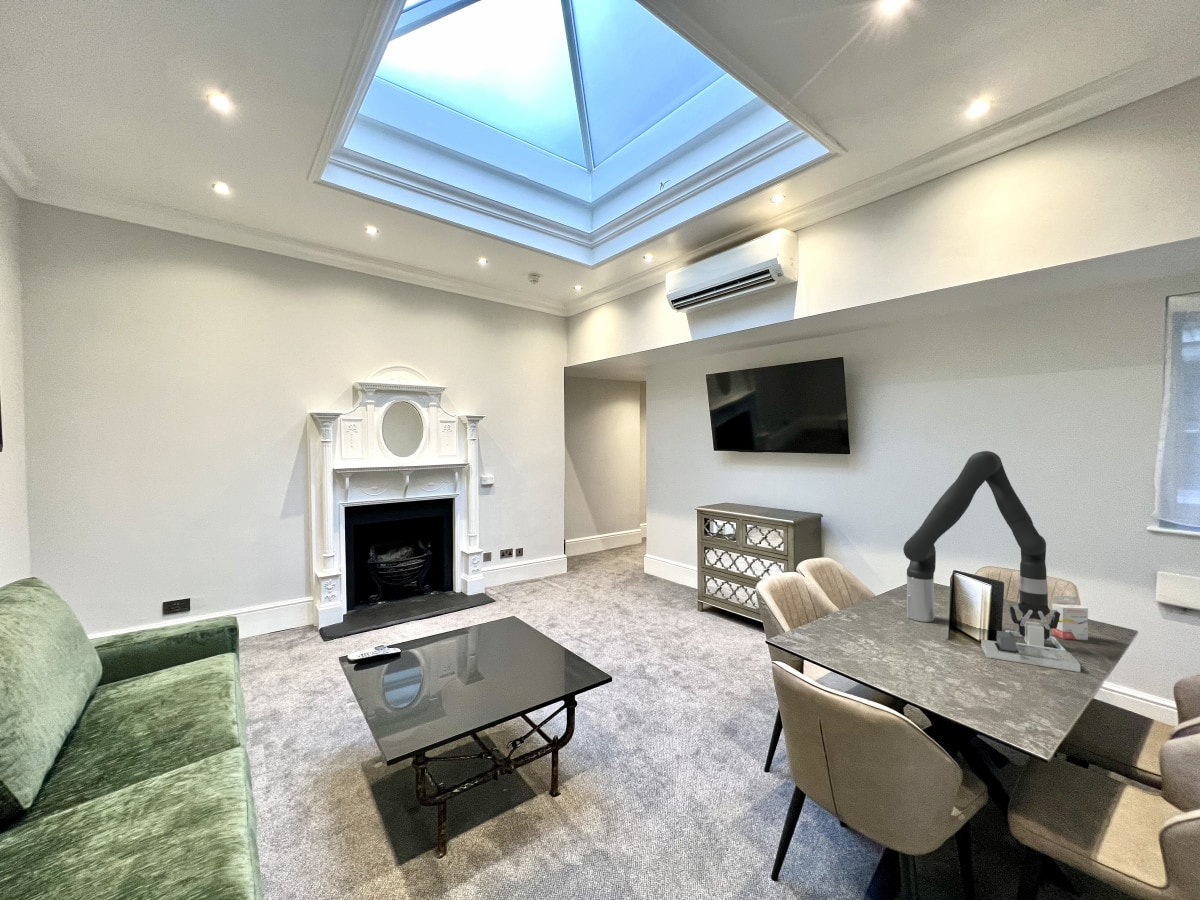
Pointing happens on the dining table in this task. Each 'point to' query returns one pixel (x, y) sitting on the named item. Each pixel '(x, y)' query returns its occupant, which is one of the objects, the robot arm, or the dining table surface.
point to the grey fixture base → (1027, 653)
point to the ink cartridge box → (1070, 618)
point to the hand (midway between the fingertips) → (1034, 637)
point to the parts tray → (1055, 642)
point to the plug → (1034, 634)
